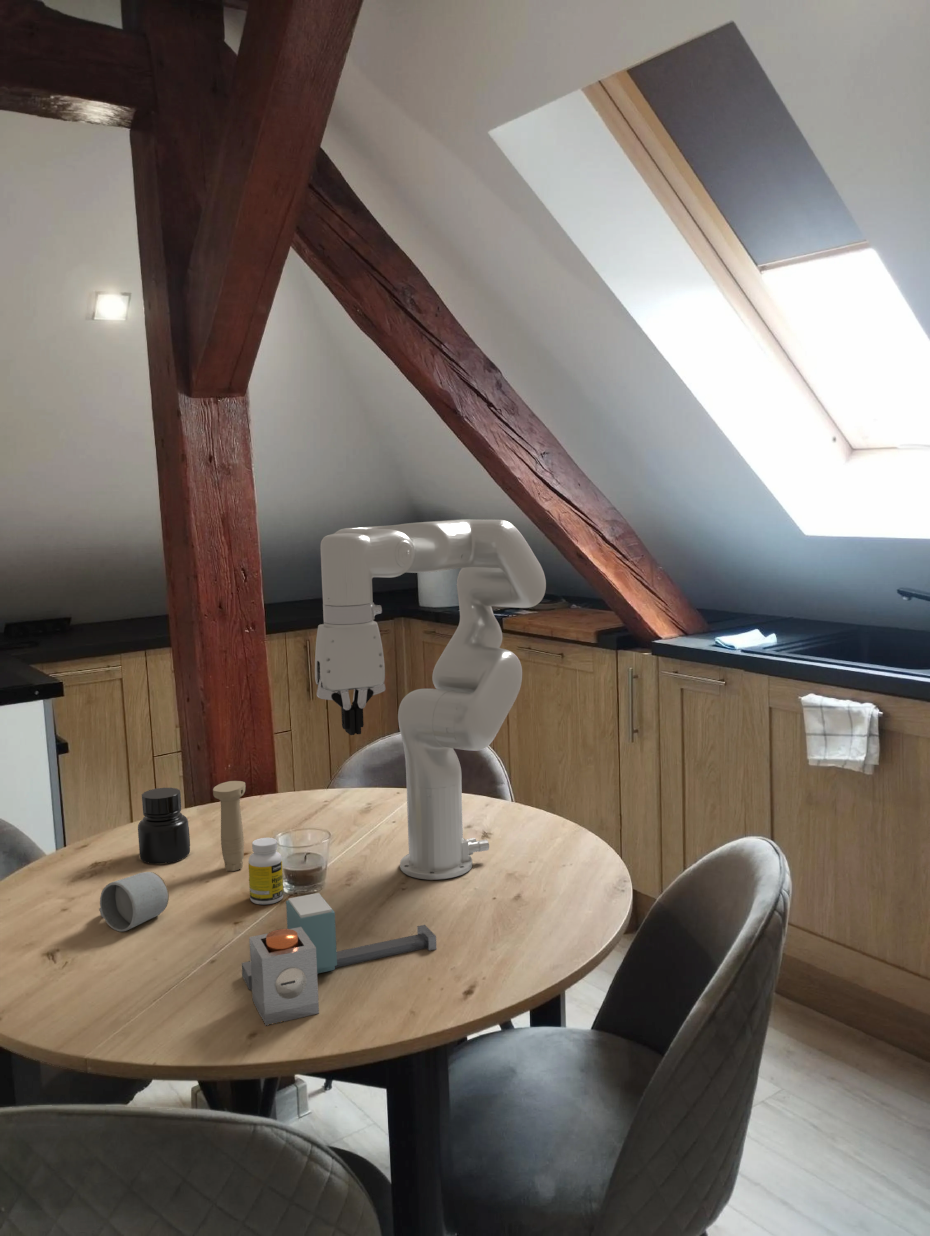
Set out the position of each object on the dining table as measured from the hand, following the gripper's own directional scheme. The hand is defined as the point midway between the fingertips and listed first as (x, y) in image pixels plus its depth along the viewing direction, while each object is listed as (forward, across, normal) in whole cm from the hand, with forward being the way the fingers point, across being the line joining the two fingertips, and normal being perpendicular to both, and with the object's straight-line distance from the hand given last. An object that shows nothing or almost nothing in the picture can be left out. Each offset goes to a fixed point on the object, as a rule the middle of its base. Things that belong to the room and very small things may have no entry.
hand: (353, 732), depth 167 cm
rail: (+29, +8, +16) cm, 34 cm away
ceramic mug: (+29, +34, -14) cm, 47 cm away
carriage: (+29, +12, +16) cm, 35 cm away
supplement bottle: (+29, +12, -12) cm, 34 cm away
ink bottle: (+29, +24, -40) cm, 55 cm away
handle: (+29, +14, -28) cm, 43 cm away
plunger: (+27, +18, +25) cm, 41 cm away
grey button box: (+29, +18, +24) cm, 42 cm away
